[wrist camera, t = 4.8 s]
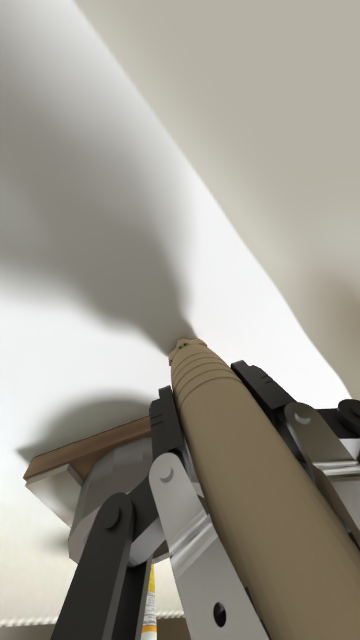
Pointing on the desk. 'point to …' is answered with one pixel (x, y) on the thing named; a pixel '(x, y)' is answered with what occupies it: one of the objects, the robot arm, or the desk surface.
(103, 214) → the desk surface
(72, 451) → the ring socket base
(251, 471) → the handle
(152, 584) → the supplement bottle
